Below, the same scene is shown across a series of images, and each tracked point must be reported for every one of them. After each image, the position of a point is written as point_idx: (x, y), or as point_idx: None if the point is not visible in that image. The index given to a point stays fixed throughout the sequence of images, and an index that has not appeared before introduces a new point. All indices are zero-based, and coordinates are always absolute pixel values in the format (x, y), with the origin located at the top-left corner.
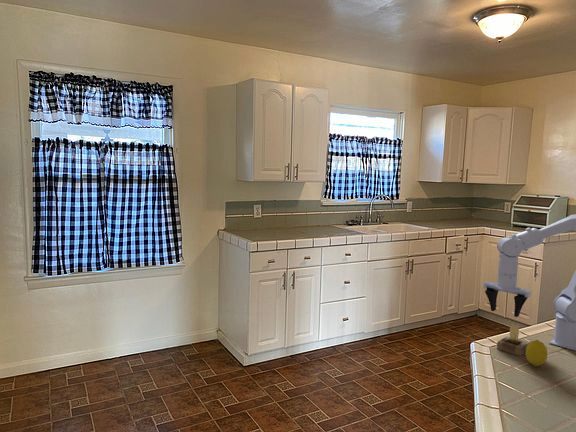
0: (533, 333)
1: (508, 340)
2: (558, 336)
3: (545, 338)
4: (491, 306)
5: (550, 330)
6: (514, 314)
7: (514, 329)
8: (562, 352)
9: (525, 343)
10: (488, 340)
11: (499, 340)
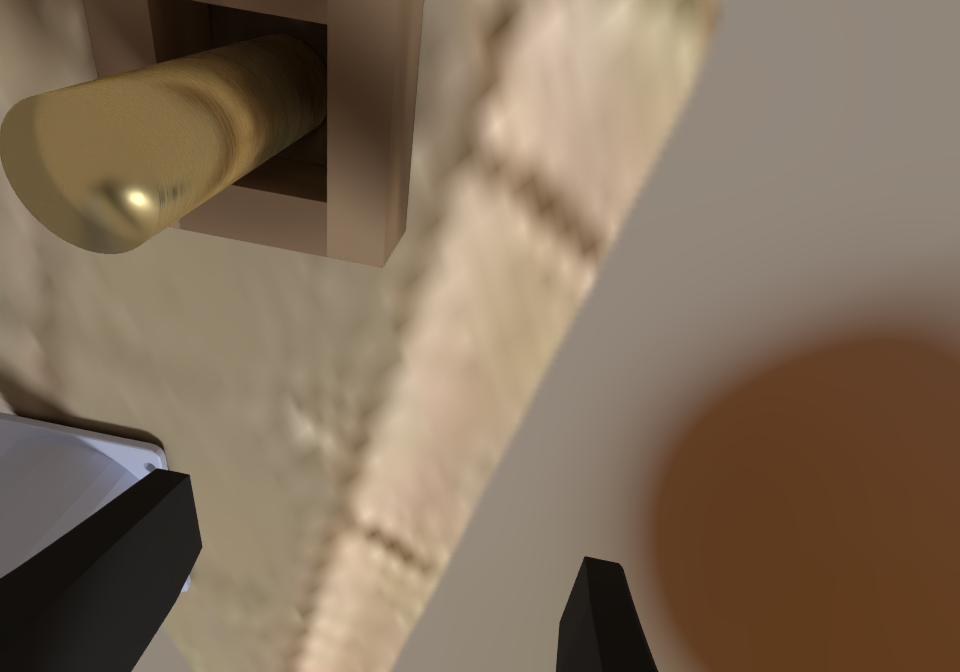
0: (336, 571)
1: (332, 163)
2: (56, 499)
3: (237, 525)
4: (623, 641)
5: (284, 654)
6: (159, 499)
7: (75, 87)
8: (7, 326)
9: None
10: (591, 198)
11: (393, 24)
